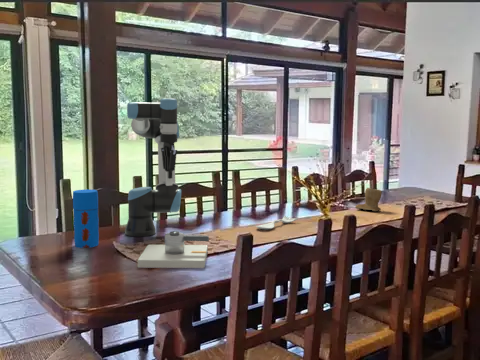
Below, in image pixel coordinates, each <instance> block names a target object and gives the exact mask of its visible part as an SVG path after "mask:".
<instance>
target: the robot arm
mask: <svg viewBox="0 0 480 360" xmlns="http://www.w3.org/2000/svg"><path fill="white" fill-rule="evenodd" d="M159 101H160V102H141V101H139V102H137V101H133V102H127V104H126V116H127V118H128V119H129V120H130V119H131V124H130V126H131V130H132V131H133V132H134V133H135V134H136V135H138V136H140V137H142V138H144V139H145V138H146V139H154V142H155V143H156V144H157V164H158V165H157V167H158V168H157V169H158V184H157V185H156V186H155V189H153V187H151V186H141V187H135V188H132V189H130V190H129V191H128V195H127V196H128V197H127V201H128V207H127V208H128V212H127V213H128V218H127V219H128V220H127V223H126V225H125V226H126V227H125V228H124V234H125V236H129V237H136V238H137V237H149V236H153V235H155V234H156V233H157V232H156V231H157V230H156V225H155V222H154V220H153V214H154V213H155V214H157V213H159V214H161V213H163V214H164V213H177V212H179V211H180V209H181V200H182V189H181V188H179V187H180V186H179V184H177V183H176V161H177V155H178V149H175V148H176V146H175V143H177V142H178V139H179V138H180V127H179V123H178V99H176V98H161V99H160V100H159Z"/></svg>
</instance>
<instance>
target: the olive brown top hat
mask: <svg viewBox="0 0 480 360" xmlns="http://www.w3.org/2000/svg"><path fill="white" fill-rule="evenodd" d="M382 194H383V193H382V190H381V189H378V188H377V189H376V188H371V187H366V188H365V191H364V197H365V202H364V203H363V204H362V203H359V204H357V205H355V206H354V208H355V209H357V210H361V209H363V210H362V211H366V210H372V211H371V212H379V211H378V210H380V211H381V210H382V209H381V208H380V207H379V202H380V201H381V198H382Z"/></svg>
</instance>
